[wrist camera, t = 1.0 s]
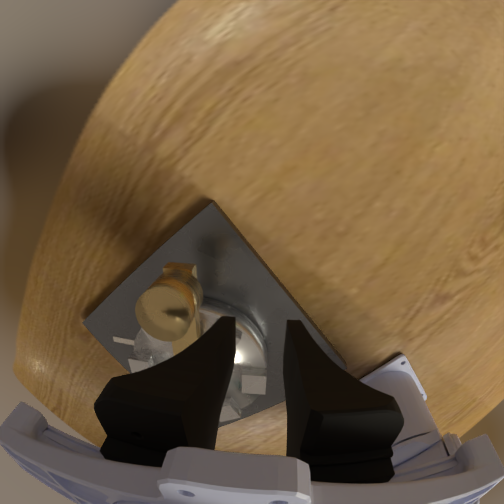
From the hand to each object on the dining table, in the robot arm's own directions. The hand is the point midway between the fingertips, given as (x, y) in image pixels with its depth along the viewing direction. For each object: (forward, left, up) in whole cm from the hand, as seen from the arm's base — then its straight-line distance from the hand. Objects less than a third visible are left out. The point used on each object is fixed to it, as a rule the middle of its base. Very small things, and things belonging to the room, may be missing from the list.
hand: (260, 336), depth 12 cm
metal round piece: (-1, +8, -8) cm, 11 cm away
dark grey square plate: (-3, +9, -9) cm, 13 cm away
